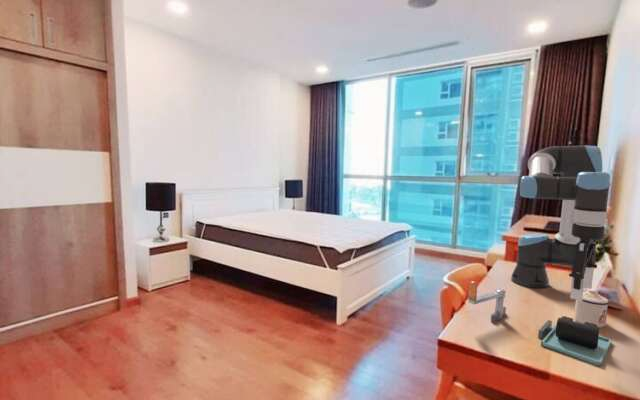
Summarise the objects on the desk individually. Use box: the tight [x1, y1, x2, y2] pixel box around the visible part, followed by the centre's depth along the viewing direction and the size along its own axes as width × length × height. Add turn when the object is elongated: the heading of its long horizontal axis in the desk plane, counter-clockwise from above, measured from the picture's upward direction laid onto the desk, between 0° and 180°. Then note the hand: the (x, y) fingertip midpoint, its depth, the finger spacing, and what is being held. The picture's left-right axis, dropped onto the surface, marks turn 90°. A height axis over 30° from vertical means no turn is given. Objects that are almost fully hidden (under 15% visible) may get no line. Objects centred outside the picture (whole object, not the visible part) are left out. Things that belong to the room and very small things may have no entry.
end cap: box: [555, 315, 600, 349], centre depth 101 cm, size 10×7×7 cm
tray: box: [540, 323, 612, 368], centre depth 102 cm, size 19×14×1 cm
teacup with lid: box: [573, 289, 610, 329], centre depth 118 cm, size 12×9×12 cm
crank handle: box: [467, 280, 506, 305], centre depth 114 cm, size 3×18×8 cm, turn 120°
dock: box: [490, 297, 553, 340], centre depth 114 cm, size 11×16×8 cm
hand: (581, 293), depth 101 cm, fingers open, 13 cm apart
